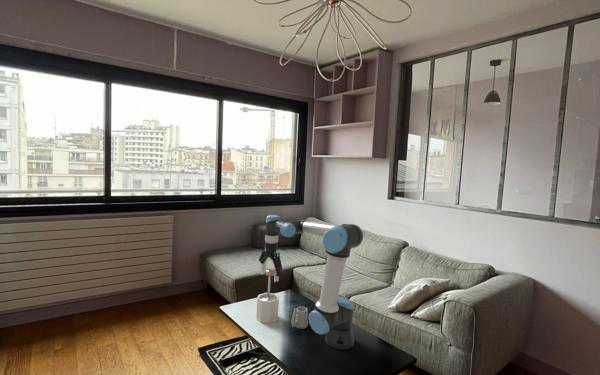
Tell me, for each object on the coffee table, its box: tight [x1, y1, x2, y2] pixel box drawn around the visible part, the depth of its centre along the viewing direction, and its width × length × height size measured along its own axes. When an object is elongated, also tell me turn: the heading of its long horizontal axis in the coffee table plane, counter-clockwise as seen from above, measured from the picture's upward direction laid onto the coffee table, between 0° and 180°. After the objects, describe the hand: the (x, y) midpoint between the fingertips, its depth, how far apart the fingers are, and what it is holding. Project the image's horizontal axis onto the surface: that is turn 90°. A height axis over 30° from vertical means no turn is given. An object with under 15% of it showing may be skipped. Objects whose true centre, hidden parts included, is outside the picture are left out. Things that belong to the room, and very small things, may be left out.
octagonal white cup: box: [256, 292, 280, 324], centre depth 198 cm, size 16×12×13 cm
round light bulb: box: [260, 268, 276, 301], centre depth 196 cm, size 9×9×18 cm
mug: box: [290, 306, 309, 330], centre depth 189 cm, size 8×12×12 cm, turn 136°
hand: (269, 277), depth 195 cm, fingers open, 13 cm apart
